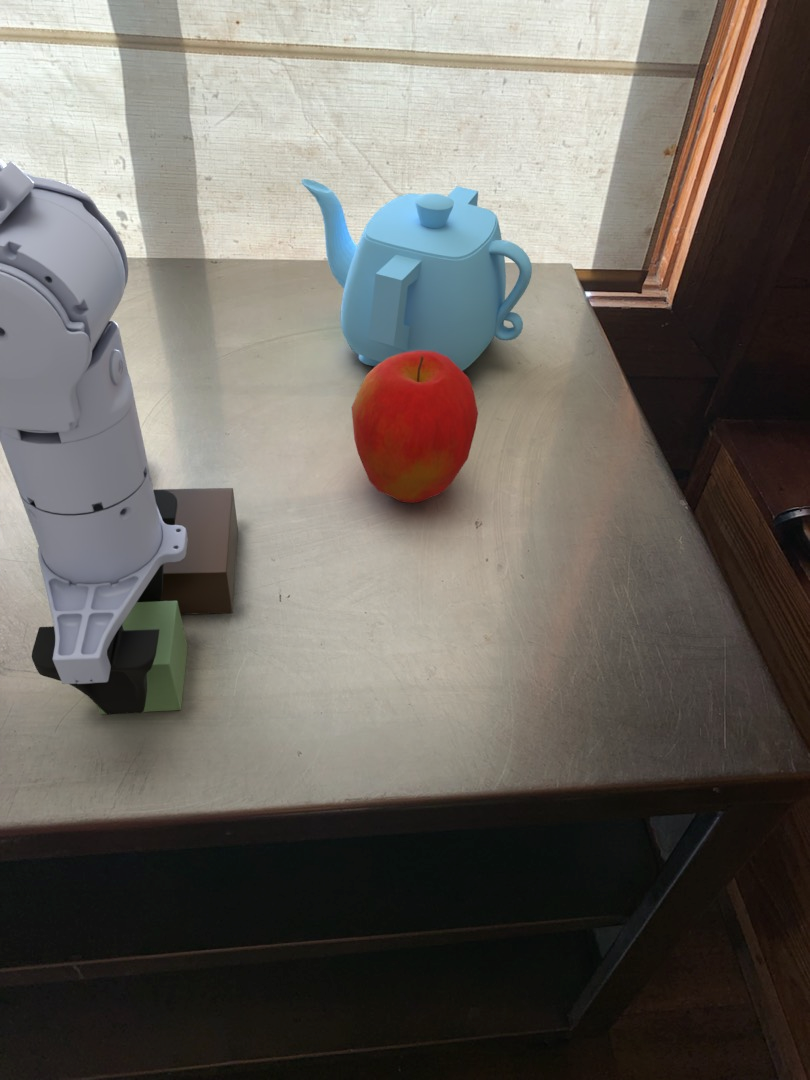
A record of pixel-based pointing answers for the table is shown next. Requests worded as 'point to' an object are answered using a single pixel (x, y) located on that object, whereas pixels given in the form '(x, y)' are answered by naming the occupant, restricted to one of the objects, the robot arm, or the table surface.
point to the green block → (162, 653)
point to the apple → (414, 424)
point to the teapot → (423, 276)
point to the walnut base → (204, 552)
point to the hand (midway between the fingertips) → (134, 651)
